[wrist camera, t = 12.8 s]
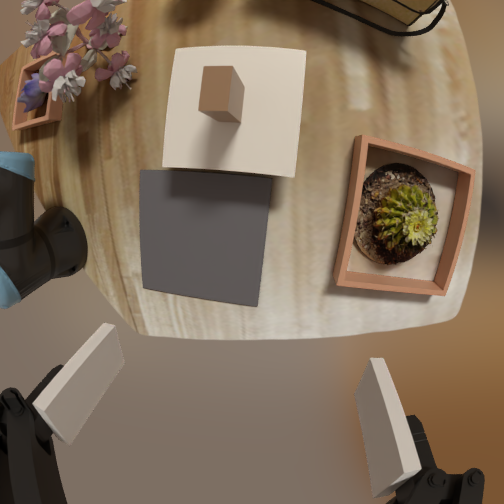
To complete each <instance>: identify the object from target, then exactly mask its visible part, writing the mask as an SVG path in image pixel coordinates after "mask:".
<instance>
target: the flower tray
mask: <svg viewBox="0 0 504 504" xmlns="http://www.w3.org/2000/svg"><path fill="white" fill-rule="evenodd" d="M71 53H73V52H71ZM68 54H69V53H68ZM68 54H65V58H64V57H63V61H62V64H63V66H64V69H65V64H66V60H67V56H68ZM56 55H59V54H58V53H56V52H54V51H53V52H51V53H49V54H48V55H47V56H42V57H40V58H38V59H36V60H34V61H32V62H31V63H29V64H27V65H25V66H23V67H22V70H21V75H20V79H19V84H18V89H17V95H16V101H15V108H14V116H13V125H12V130H25V129H29V128H32V127H36V126H39V125H43V124H47V123H51V122H55V121H60V120H61V117H62V108H63V101H62V100H61V99H60V97H59V95H58V96H57V99H56V101H54V100H52V91H51V92H49V96H48V103H47V110H46V116H43V117H39V118H36V119H33V120H30V121H27V113H28V112H26V113H23V112H24V109H25V108H26V104H25V103H22V102H17V98H19V97H21V94H22V93H23V92H24V90H23V91H22V92H20V91H21V90H22V89H23V88H24V86H25V85H26V84H27V83H25V81H27V80H32V79H33V78H31V77H32V76H31V75H32V74H33V73H34V72H35V71H37V70H39V69H40V68H41V67H42V65H43V64H44V63H45V62H46V61H47V60H48V59H50V58H51V57H53V56H56ZM63 93H64V92H63ZM64 94H65V93H64Z"/></svg>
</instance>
